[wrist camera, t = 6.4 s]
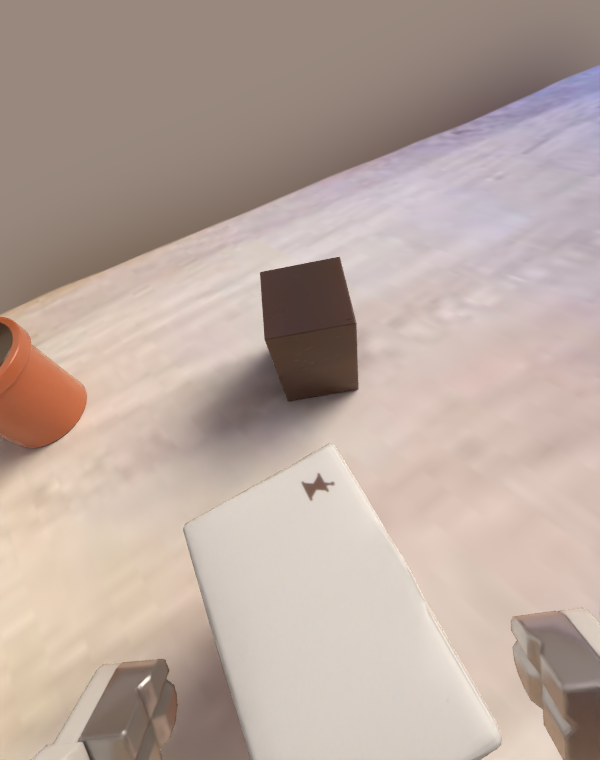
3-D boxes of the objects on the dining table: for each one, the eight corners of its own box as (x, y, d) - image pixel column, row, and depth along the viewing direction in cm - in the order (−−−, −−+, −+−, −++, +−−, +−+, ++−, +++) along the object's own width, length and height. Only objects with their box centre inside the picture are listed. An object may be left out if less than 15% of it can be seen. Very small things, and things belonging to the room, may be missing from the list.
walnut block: (287, 401, 24) (264, 339, 18) (281, 341, 26) (259, 271, 21) (358, 389, 23) (356, 323, 18) (344, 330, 26) (339, 256, 20)
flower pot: (-8, 460, 25) (-116, 418, 19) (21, 381, 28) (-63, 325, 22) (81, 445, 24) (-3, 398, 19) (100, 367, 28) (33, 306, 22)
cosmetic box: (278, 565, 19) (175, 516, 8) (351, 524, 19) (334, 432, 9) (336, 709, 15) (279, 905, 5) (422, 655, 16) (521, 741, 6)
